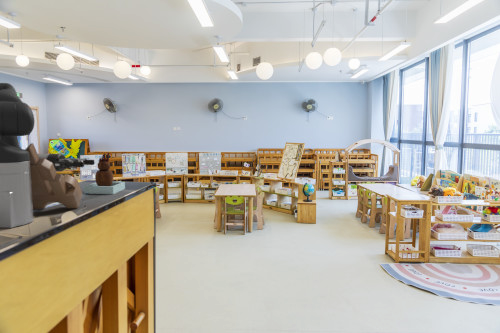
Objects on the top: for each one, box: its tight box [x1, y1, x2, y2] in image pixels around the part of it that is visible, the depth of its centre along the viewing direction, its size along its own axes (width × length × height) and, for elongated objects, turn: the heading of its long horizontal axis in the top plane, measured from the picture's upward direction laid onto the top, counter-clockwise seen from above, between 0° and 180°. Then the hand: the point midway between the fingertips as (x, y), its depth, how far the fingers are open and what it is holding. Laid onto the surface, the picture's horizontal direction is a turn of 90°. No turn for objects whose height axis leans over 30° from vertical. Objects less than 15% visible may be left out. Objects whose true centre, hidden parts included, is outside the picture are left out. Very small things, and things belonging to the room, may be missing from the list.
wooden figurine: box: [94, 151, 114, 186], centre depth 133 cm, size 7×6×15 cm
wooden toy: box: [24, 142, 83, 210], centre depth 97 cm, size 16×7×25 cm
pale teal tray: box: [83, 181, 126, 195], centre depth 134 cm, size 12×12×3 cm
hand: (88, 163), depth 133 cm, fingers open, 8 cm apart
